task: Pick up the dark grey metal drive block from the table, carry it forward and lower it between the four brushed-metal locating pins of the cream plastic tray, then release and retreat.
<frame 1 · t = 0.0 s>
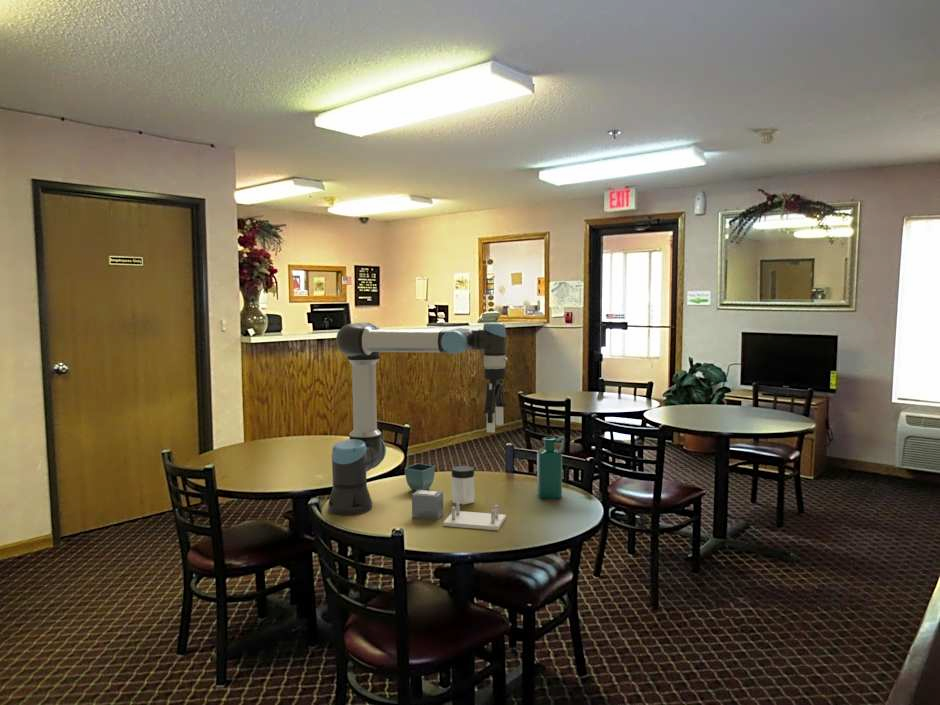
hand: (495, 428, 224), 28 cm above the table, fingers open, 13 cm apart
drive block: (427, 516, 217), on the table
flower pot: (420, 490, 249), on the table
pitcher: (551, 496, 239), on the table
jar: (463, 501, 234), on the table
pin tray: (475, 522, 211), on the table
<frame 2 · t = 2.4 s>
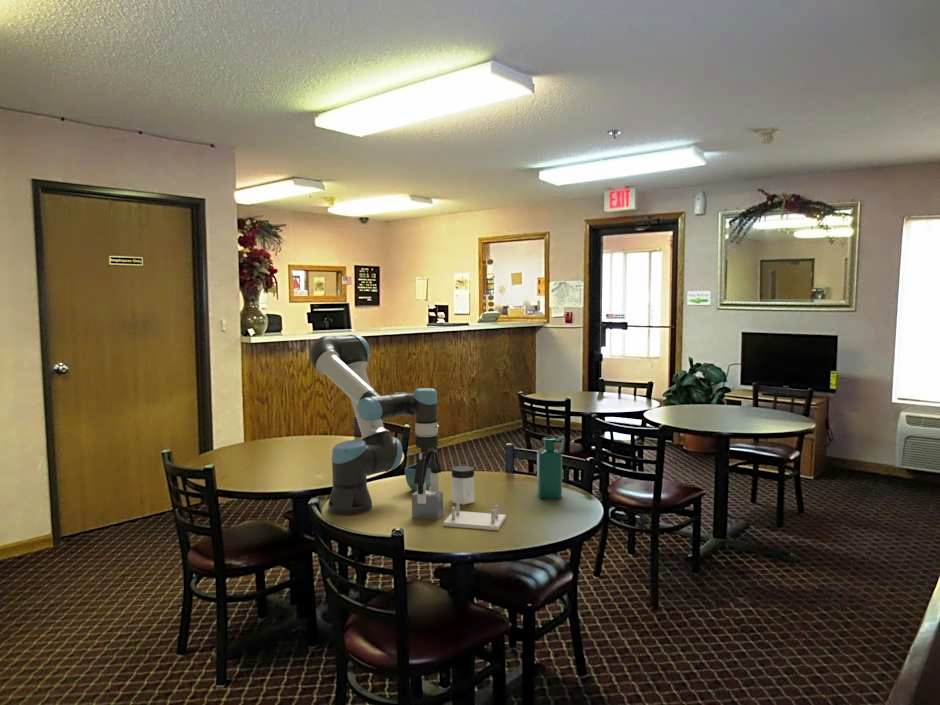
hand: (428, 497, 216), 6 cm above the table, fingers open, 13 cm apart
nothing on the table moved.
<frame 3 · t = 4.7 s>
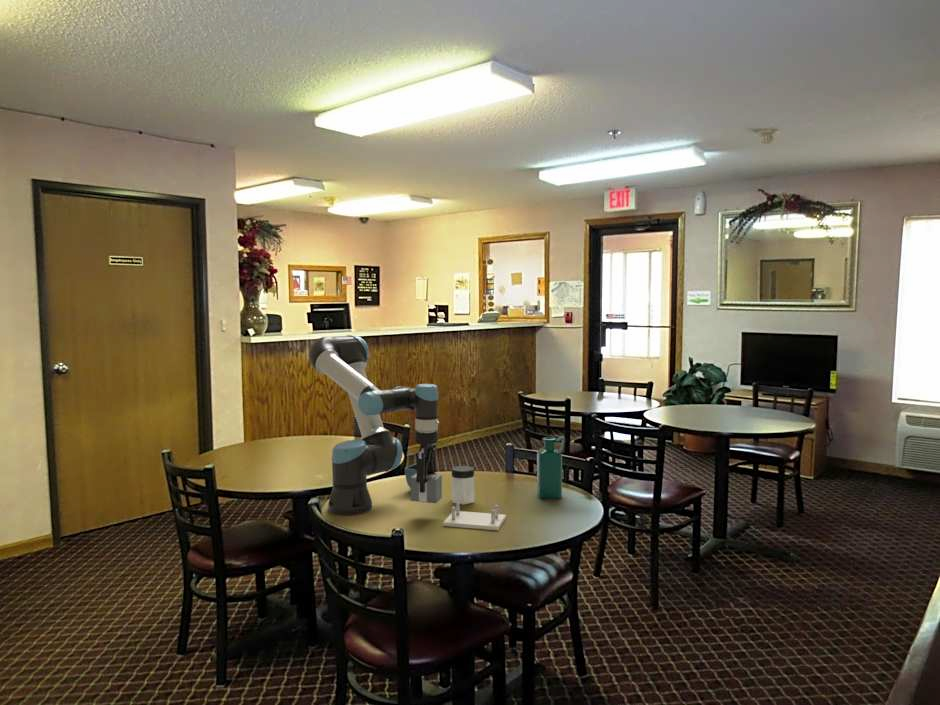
hand: (426, 498, 217), 6 cm above the table, fingers closed on drive block, 6 cm apart
drive block: (426, 499, 217), point 6 cm above the table, touching gripper
everything else where it was.
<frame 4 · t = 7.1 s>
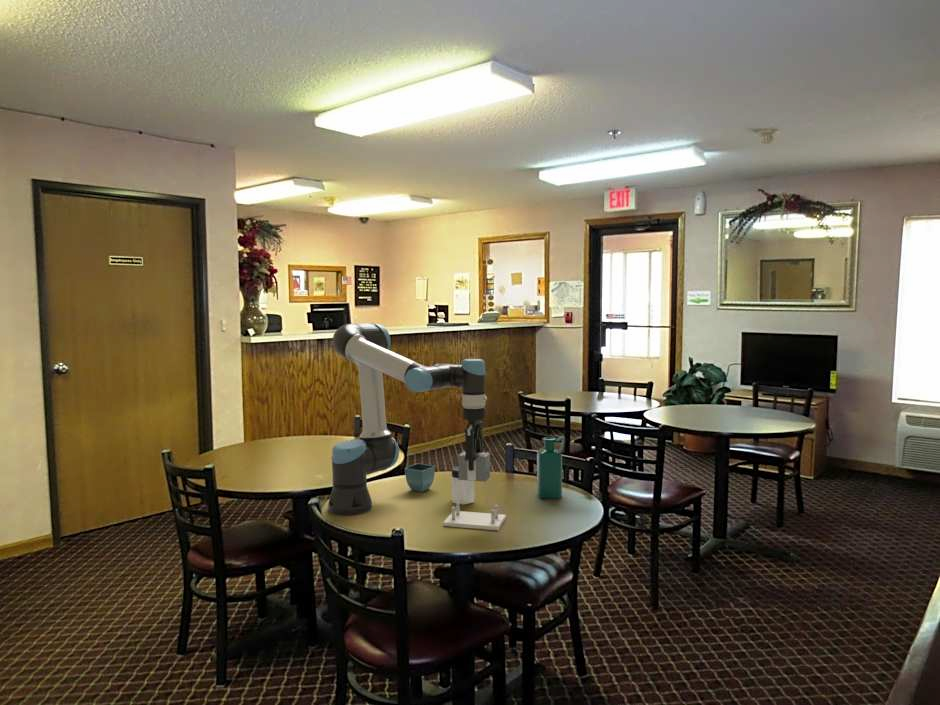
hand: (474, 477, 210), 15 cm above the table, fingers closed on drive block, 6 cm apart
drive block: (474, 478, 210), point 15 cm above the table, touching gripper
everything else where it was.
when the fingers open (2 cm above the table, at t = 10.0 s): drive block stays where it is, resting on pin tray.
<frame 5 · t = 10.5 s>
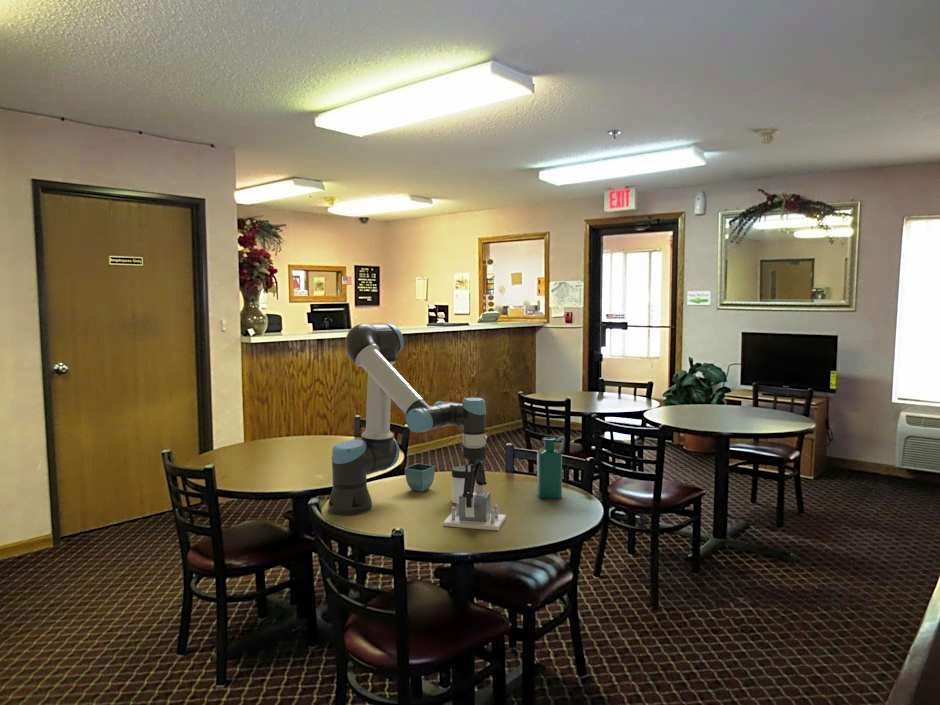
hand: (475, 510, 211), 4 cm above the table, fingers open, 12 cm apart
drive block: (474, 518, 211), point 1 cm above the table, touching pin tray
everything else where it was.
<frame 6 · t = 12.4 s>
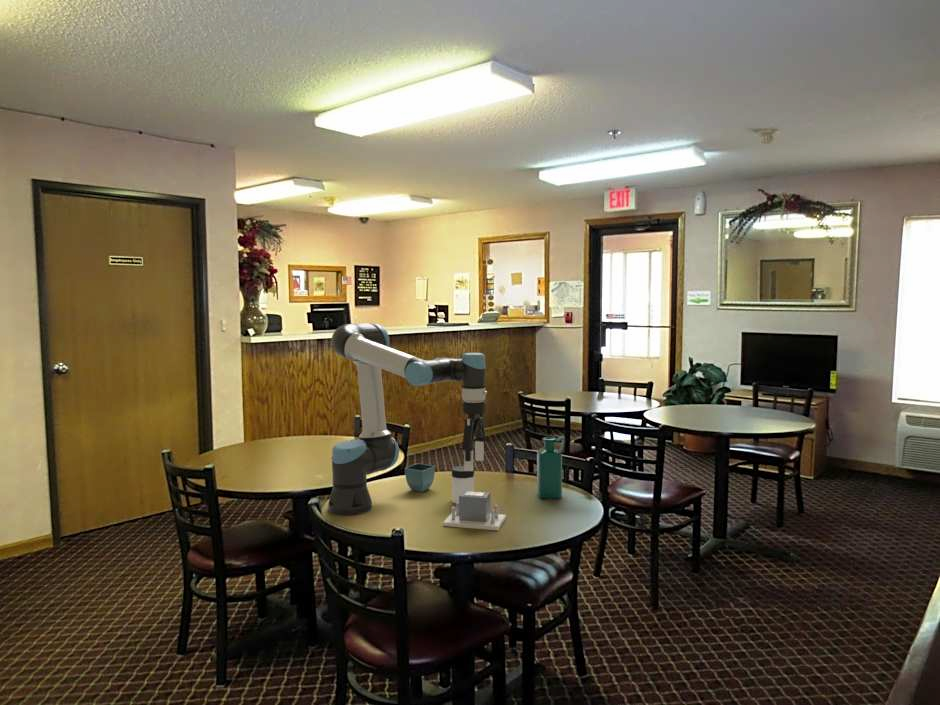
hand: (474, 465, 210), 19 cm above the table, fingers open, 13 cm apart
nothing on the table moved.
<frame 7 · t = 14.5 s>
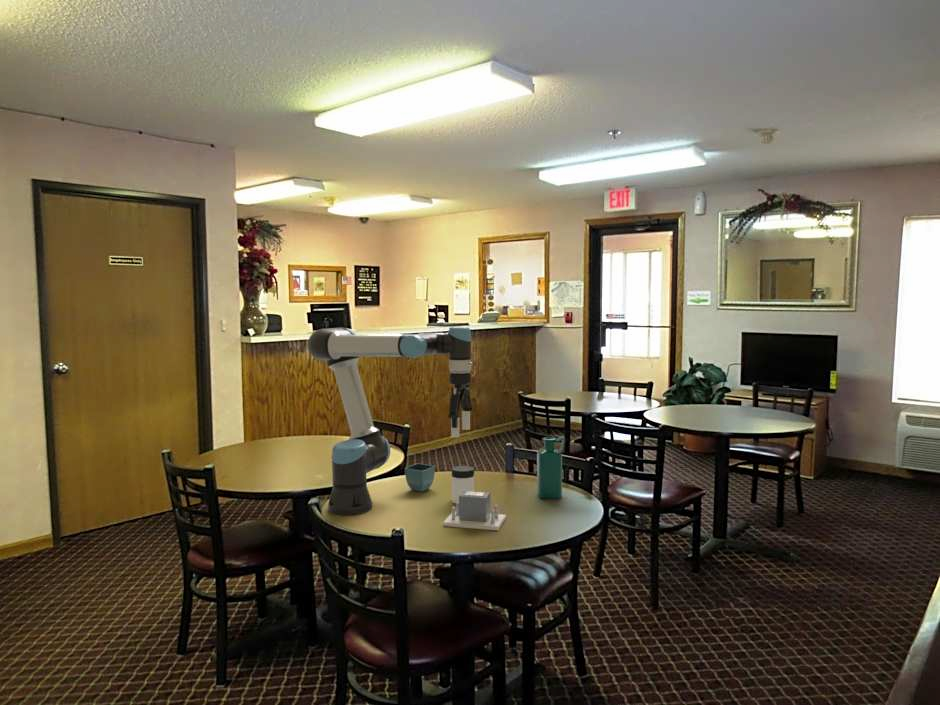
hand: (460, 433, 223), 27 cm above the table, fingers open, 13 cm apart
nothing on the table moved.
at the end: drive block 0.1 cm off-centre on the pin tray, point 1.2 cm above the pin tray's base; drive block tilted 0°; the gripper is holding nothing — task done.
